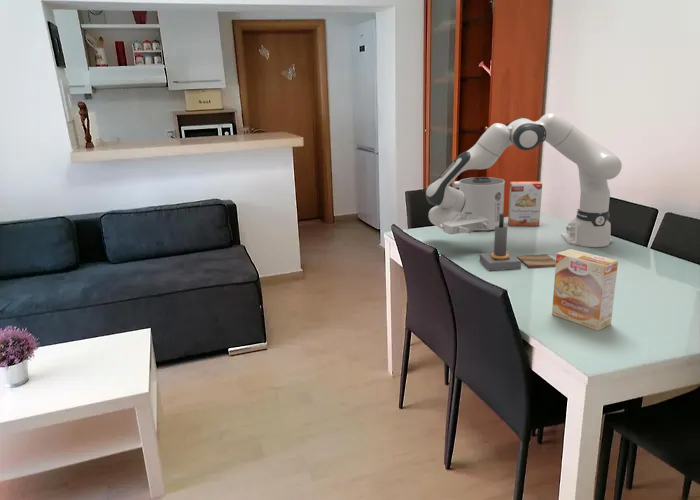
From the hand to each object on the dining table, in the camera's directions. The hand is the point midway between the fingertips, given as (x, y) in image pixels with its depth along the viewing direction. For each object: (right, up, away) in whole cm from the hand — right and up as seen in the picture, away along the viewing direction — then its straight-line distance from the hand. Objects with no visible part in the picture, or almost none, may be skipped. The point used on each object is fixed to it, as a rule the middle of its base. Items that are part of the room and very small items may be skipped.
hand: (478, 229), depth 210 cm
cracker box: (+33, +4, +46) cm, 57 cm away
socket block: (+6, -14, -7) cm, 17 cm away
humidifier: (+11, +4, +49) cm, 50 cm away
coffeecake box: (+17, -29, -55) cm, 64 cm away
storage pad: (+21, -13, -6) cm, 26 cm away
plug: (+6, -14, -7) cm, 17 cm away
